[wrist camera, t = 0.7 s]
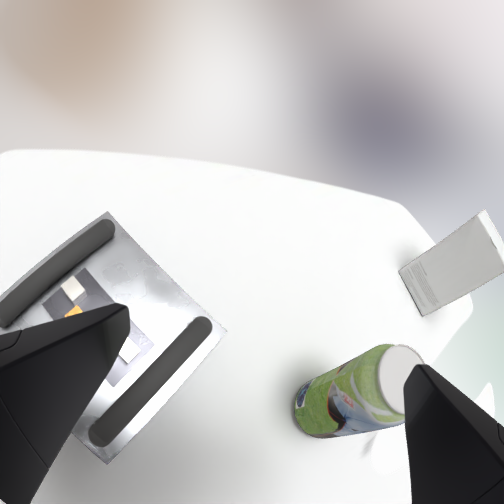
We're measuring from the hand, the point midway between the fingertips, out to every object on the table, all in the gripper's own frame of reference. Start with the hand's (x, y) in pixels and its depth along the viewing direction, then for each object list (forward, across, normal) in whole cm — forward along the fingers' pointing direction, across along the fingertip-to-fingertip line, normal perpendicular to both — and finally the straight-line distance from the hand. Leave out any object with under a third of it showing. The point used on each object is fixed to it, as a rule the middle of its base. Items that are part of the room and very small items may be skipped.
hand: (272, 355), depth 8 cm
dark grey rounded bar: (+8, +16, +5) cm, 18 cm away
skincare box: (+33, -22, +9) cm, 40 cm away
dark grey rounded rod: (+6, +7, +10) cm, 14 cm away
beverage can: (+13, -6, +15) cm, 21 cm away
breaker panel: (+8, +12, +9) cm, 18 cm away
